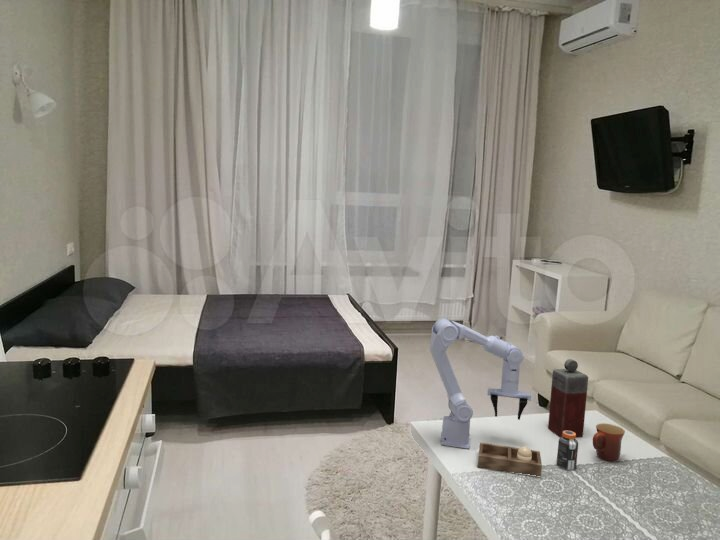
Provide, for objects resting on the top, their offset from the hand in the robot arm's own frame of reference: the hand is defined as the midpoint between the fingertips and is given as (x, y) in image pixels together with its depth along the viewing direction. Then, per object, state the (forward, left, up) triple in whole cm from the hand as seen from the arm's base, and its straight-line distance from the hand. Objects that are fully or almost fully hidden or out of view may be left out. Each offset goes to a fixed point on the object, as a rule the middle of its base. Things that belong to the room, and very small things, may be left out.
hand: (507, 417), depth 185 cm
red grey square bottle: (+21, +18, -10) cm, 29 cm away
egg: (+6, -17, -8) cm, 20 cm away
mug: (+32, -1, -10) cm, 33 cm away
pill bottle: (+19, -11, -10) cm, 24 cm away
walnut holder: (+1, -17, -9) cm, 19 cm away
